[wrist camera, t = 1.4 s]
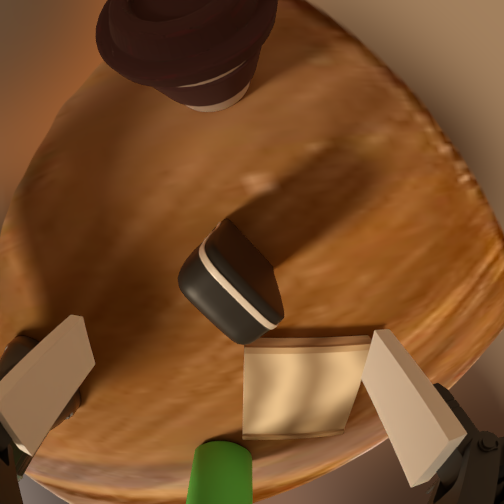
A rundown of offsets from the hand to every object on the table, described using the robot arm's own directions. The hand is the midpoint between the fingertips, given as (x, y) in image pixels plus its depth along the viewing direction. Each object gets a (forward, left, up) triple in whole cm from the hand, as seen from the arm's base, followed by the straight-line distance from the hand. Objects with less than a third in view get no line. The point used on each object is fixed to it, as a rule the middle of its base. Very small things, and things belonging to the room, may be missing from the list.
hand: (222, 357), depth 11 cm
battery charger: (0, 0, -16) cm, 16 cm away
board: (+8, -17, -16) cm, 25 cm away
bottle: (-2, -32, -16) cm, 36 cm away
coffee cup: (-3, +17, -16) cm, 24 cm away
